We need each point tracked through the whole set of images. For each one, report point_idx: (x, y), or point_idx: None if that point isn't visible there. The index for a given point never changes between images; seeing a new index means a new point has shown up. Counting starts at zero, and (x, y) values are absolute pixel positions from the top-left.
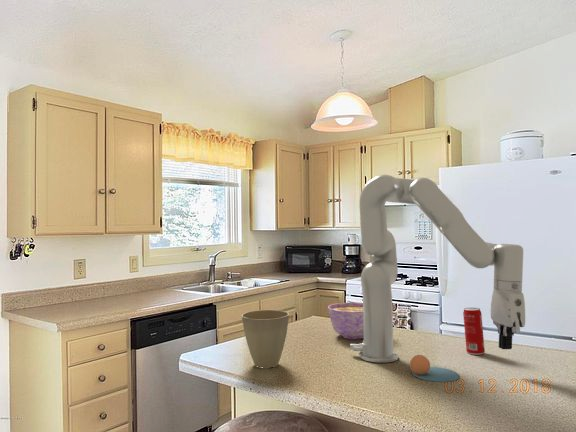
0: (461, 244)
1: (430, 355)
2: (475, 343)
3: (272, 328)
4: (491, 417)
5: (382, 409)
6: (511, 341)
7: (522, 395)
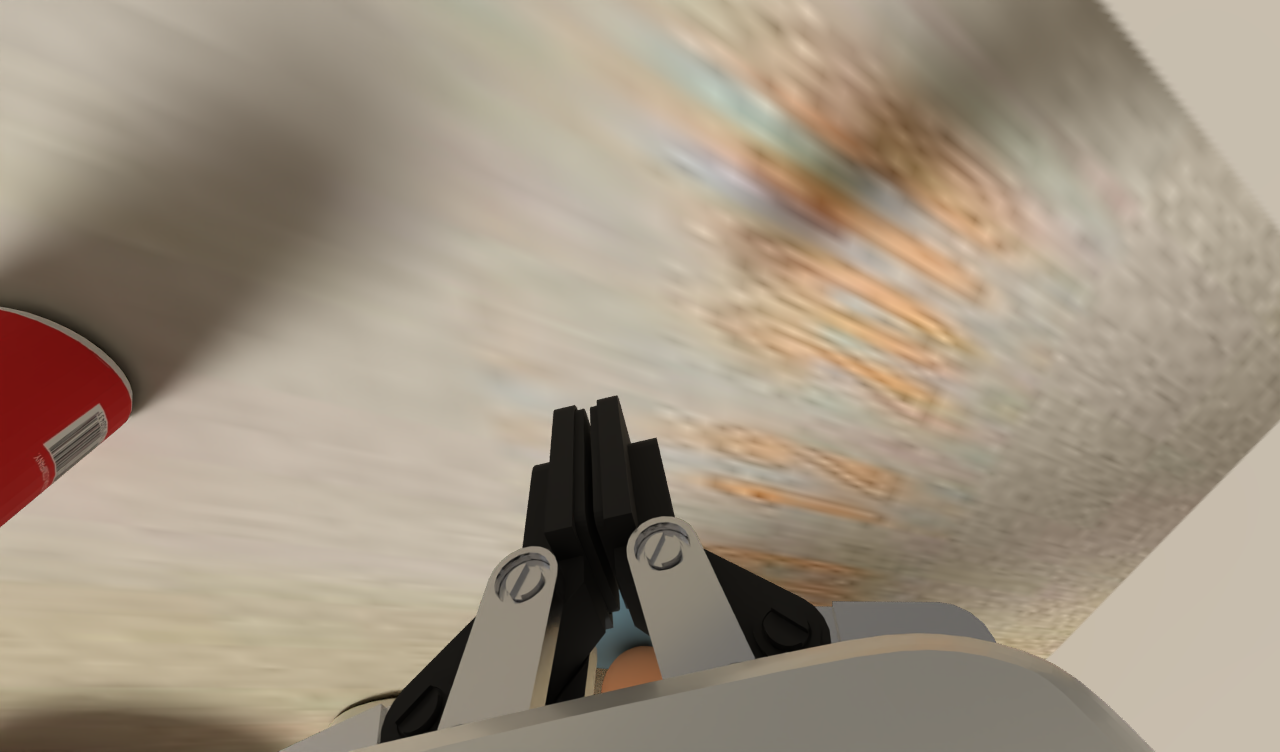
0: None
1: (295, 604)
2: (44, 458)
3: None
4: (1094, 543)
5: None
6: (624, 455)
7: (987, 381)
